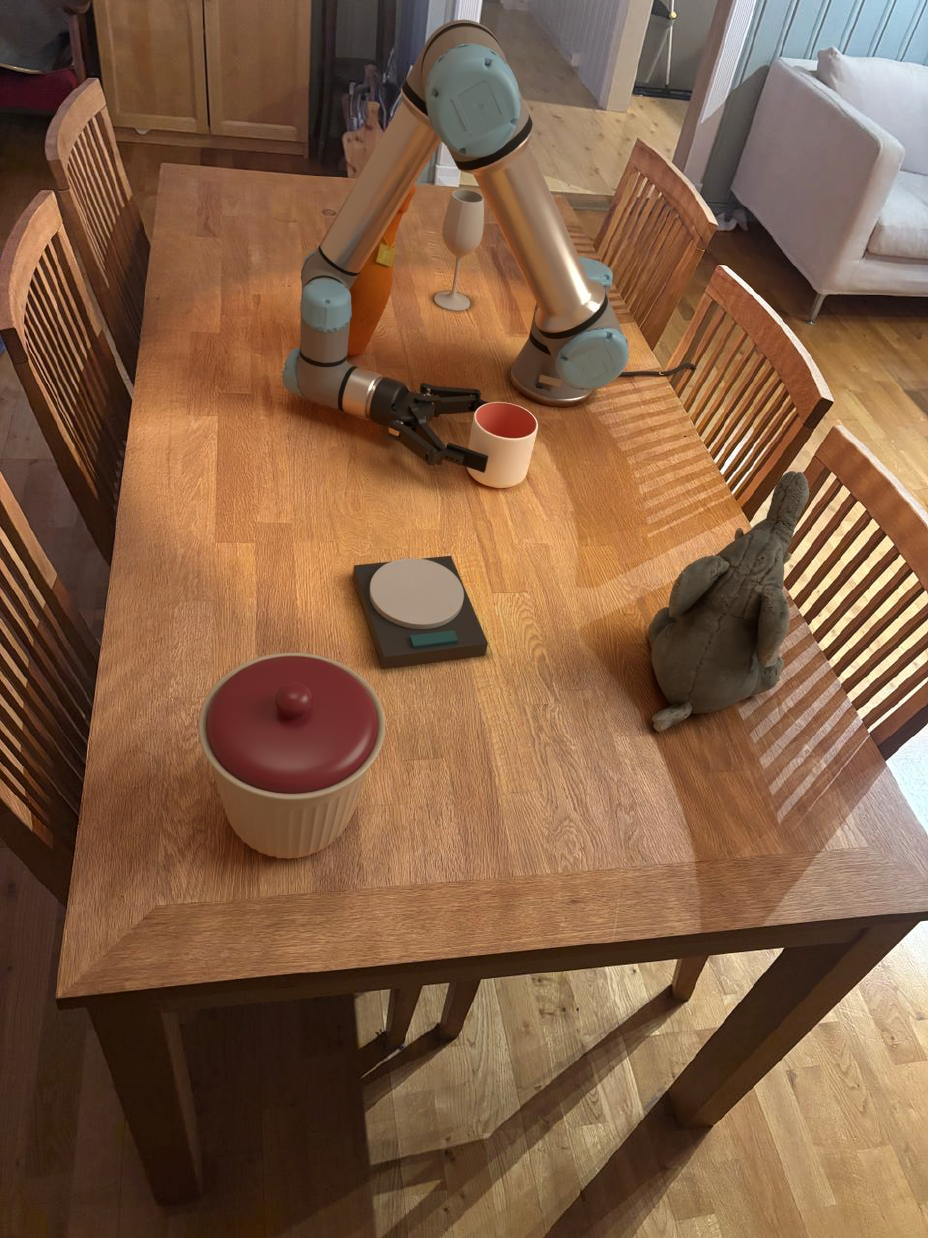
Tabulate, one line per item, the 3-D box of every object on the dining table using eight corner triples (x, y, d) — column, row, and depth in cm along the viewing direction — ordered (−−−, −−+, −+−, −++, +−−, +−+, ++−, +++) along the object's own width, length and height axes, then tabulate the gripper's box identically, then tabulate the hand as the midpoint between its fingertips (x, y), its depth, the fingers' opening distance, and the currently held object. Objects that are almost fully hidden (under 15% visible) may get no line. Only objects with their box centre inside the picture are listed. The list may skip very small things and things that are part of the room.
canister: (405, 813, 109) (428, 694, 94) (285, 921, 98) (289, 806, 83) (294, 720, 116) (299, 595, 101) (170, 811, 105) (154, 686, 90)
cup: (520, 498, 152) (533, 445, 145) (458, 482, 152) (468, 430, 145) (530, 461, 159) (542, 410, 152) (471, 447, 159) (480, 395, 152)
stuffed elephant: (733, 614, 140) (807, 463, 121) (790, 730, 126) (884, 580, 107) (608, 617, 136) (664, 461, 117) (653, 737, 122) (725, 582, 103)
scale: (448, 567, 138) (452, 549, 136) (485, 655, 127) (489, 638, 125) (352, 577, 134) (354, 559, 132) (382, 669, 123) (384, 651, 121)
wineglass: (475, 298, 195) (493, 194, 180) (463, 315, 190) (480, 208, 175) (440, 288, 196) (455, 183, 181) (427, 303, 191) (441, 197, 176)
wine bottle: (304, 336, 168) (373, 168, 152) (322, 322, 176) (389, 162, 161) (354, 364, 169) (428, 200, 153) (369, 349, 177) (441, 193, 162)
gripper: (405, 382, 166) (521, 422, 163) (341, 458, 149) (469, 504, 145) (410, 343, 161) (530, 383, 157) (344, 417, 143) (477, 464, 140)
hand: (501, 441), depth 151 cm, fingers open, 13 cm apart
